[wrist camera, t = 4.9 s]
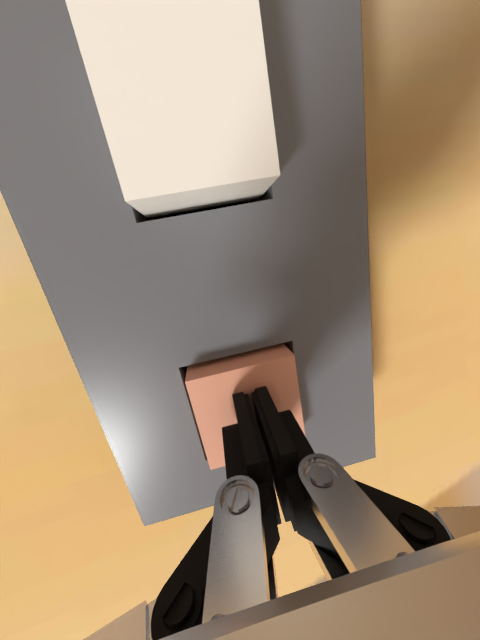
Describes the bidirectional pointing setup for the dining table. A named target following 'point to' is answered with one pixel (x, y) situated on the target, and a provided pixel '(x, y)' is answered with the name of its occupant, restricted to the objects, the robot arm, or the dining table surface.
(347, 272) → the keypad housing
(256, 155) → the ivory key
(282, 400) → the terracotta key
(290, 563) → the dining table surface
